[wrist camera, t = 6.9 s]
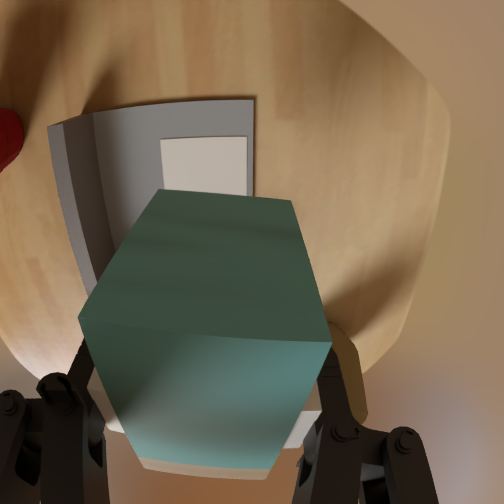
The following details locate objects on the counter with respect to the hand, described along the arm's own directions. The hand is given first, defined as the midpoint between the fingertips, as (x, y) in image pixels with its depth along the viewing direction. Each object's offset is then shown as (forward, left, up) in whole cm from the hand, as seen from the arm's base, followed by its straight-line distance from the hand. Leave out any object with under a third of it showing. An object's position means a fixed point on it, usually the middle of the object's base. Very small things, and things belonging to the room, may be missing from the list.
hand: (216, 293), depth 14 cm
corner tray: (+1, -6, -15) cm, 16 cm away
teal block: (0, 0, 0) cm, 0 cm away
